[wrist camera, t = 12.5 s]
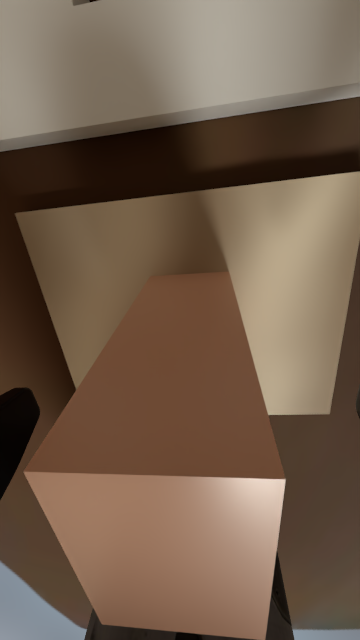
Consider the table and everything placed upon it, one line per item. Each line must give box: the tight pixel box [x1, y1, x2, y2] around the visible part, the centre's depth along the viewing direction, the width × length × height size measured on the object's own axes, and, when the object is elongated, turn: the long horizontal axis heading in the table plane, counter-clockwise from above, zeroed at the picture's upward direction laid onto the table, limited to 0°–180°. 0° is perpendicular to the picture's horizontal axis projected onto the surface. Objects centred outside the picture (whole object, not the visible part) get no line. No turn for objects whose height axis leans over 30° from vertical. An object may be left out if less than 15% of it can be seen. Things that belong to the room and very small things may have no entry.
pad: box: [15, 171, 360, 415], centre depth 11 cm, size 12×10×1 cm
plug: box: [23, 271, 286, 640], centre depth 8 cm, size 3×4×8 cm
